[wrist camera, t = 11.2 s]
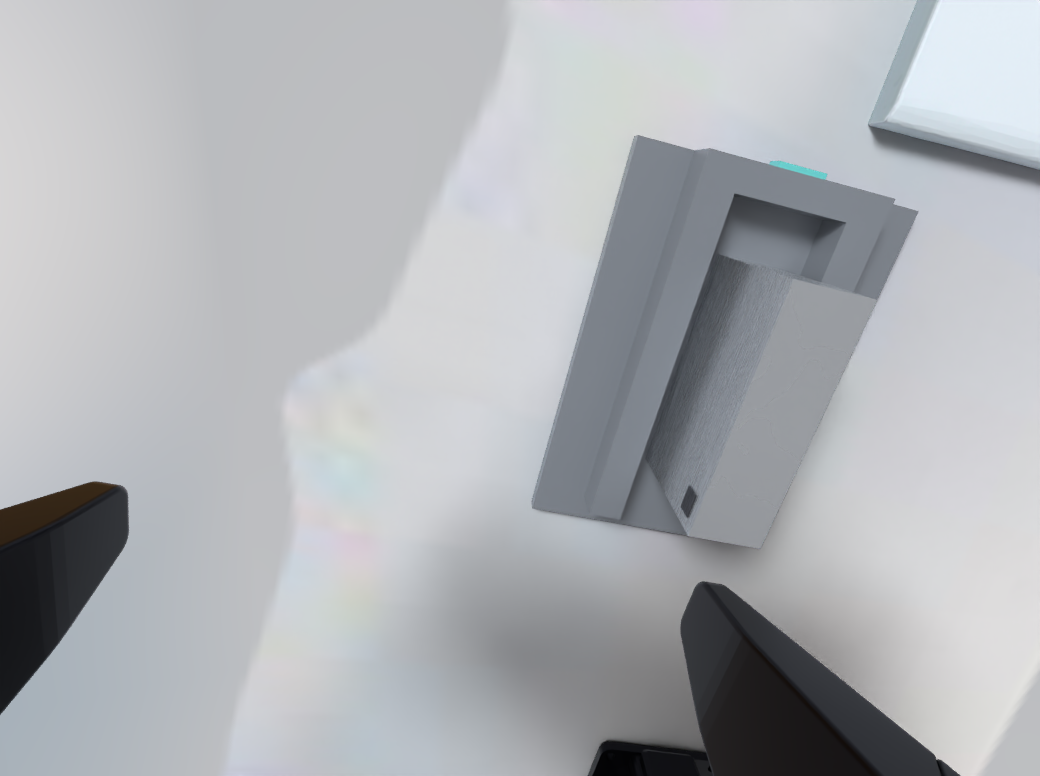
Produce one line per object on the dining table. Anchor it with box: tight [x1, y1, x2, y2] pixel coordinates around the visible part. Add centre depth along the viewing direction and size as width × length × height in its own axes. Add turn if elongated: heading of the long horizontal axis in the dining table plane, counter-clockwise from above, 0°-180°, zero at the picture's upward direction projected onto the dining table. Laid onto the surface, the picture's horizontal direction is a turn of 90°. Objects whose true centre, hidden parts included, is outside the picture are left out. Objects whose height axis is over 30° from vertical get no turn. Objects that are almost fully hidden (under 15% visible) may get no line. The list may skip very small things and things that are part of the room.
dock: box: [532, 135, 918, 545], centre depth 20 cm, size 14×10×2 cm
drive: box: [645, 254, 877, 549], centre depth 18 cm, size 8×2×5 cm, turn 167°
